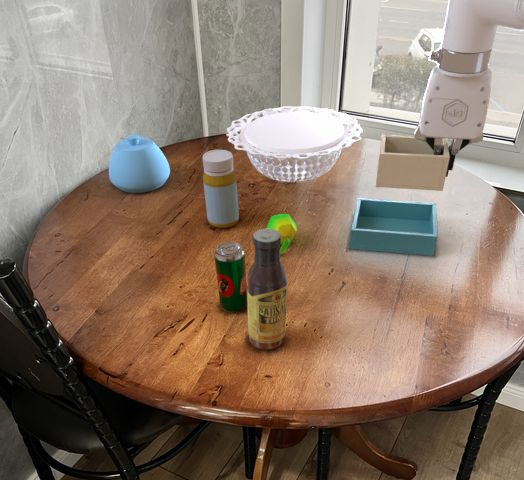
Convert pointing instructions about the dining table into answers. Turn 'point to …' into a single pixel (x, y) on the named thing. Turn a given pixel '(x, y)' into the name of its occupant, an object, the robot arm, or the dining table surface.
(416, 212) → the bin
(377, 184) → the lone bin
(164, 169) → the sugar bowl
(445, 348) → the dining table surface
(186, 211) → the dining table surface
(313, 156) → the white lattice bowl
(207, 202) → the bottle
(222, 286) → the soda can
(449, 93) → the robot arm
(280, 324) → the sauce bottle
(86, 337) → the dining table surface
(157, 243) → the dining table surface
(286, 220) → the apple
